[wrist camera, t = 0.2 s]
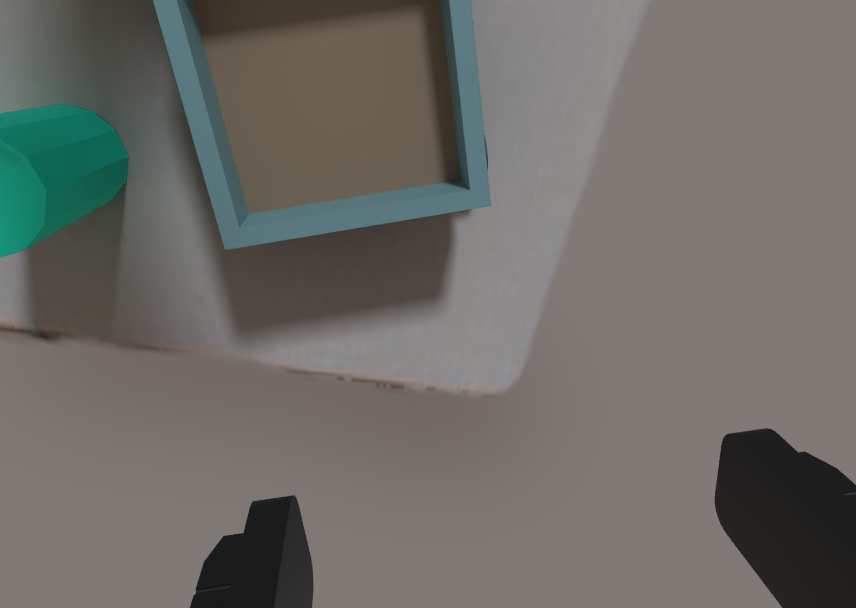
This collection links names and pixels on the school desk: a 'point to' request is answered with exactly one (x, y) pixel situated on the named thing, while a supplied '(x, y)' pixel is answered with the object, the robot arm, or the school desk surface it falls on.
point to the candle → (54, 171)
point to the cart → (329, 111)
